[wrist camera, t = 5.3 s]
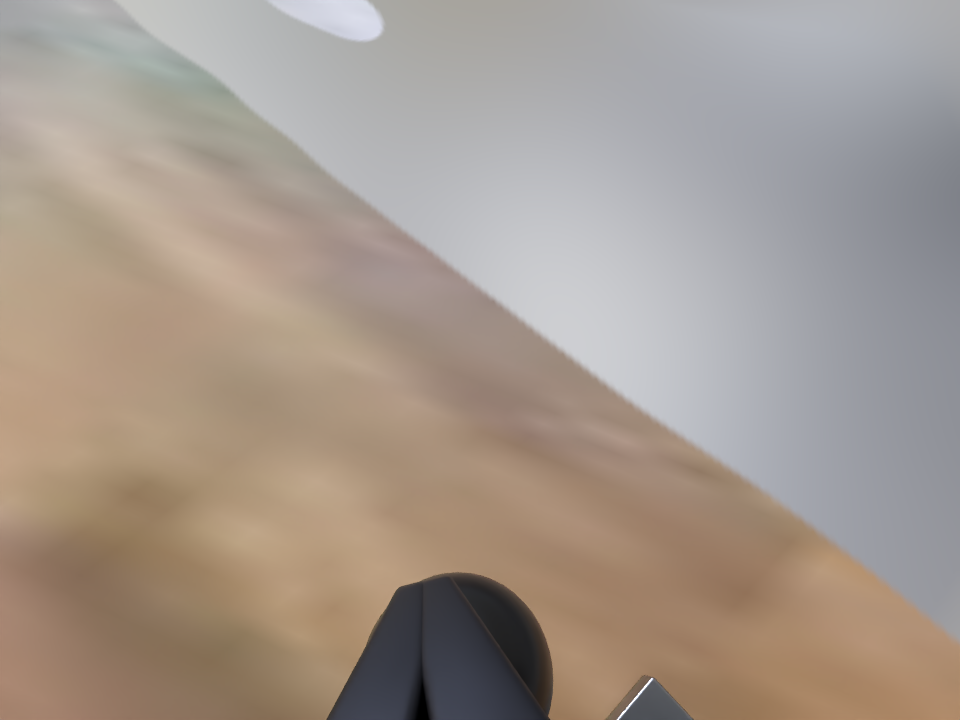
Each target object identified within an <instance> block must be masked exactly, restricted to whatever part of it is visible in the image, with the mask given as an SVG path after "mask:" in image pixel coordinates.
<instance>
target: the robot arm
mask: <svg viewBox="0 0 960 720" xmlns="http://www.w3.org/2000/svg"><path fill="white" fill-rule="evenodd" d="M327 720H550V719H549V717H548V716H547V714H546V713H545V712H544V710H543V709H542V707H541V706H540V704H539V703H538V701H537V700H536V699H535V697H534V696H533V694H532V693H531V691H530V690H529V688H528V687H527V686H526V684H525V683H524V681H523V680H522V678H521V677H520V675H519V674H518V672H517V671H516V670H515V668H514V667H513V665H512V664H511V662H510V661H509V659H508V658H507V657H506V655H505V654H504V652H503V651H502V649H501V648H500V646H499V645H498V644H497V642H496V641H495V639H494V638H493V636H492V635H491V633H490V632H489V631H488V629H487V628H486V626H485V625H484V623H483V622H482V620H481V619H480V617H479V616H478V615H477V613H476V612H475V610H474V609H473V607H472V606H471V604H470V603H469V602H468V600H467V599H466V597H465V596H464V594H463V593H462V591H461V590H460V589H459V587H458V586H457V584H456V583H455V581H454V580H453V578H452V577H450V576H448V575H445V576H441V577H437V578H433V579H429V580H425V581H421V582H417V583H413V584H409V585H405V586H401V587H399V588H398V589H397V590H396V592H395V593H394V595H393V597H392V599H391V601H390V603H389V605H388V606H387V608H386V610H385V612H384V614H383V616H382V618H381V619H380V621H379V623H378V625H377V627H376V629H375V631H374V632H373V634H372V636H371V638H370V640H369V642H368V644H367V645H366V647H365V649H364V651H363V653H362V655H361V657H360V658H359V660H358V662H357V664H356V666H355V668H354V670H353V671H352V673H351V675H350V677H349V679H348V681H347V683H346V684H345V686H344V688H343V690H342V692H341V694H340V696H339V697H338V699H337V701H336V703H335V705H334V707H333V709H332V710H331V712H330V714H329V716H328V718H327Z"/></svg>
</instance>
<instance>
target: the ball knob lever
mask: <svg viewBox="0 0 960 720" xmlns="http://www.w3.org/2000/svg"><path fill="white" fill-rule="evenodd" d="M445 575H448V576H450V577H452V578H453V580H454V581H455V583H456V584H457V586H458V587H459V589H460V590H461V591H462V593H463V594H464V596H465V597H466V599H467V600H468V602H469V603H470V604H471V606H472V607H473V609H474V610H475V612H476V613H477V615H478V616H479V617H480V619H481V620H482V622H483V623H484V625H485V626H486V628H487V629H488V631H489V632H490V633H491V635H492V636H493V638H494V639H495V641H496V642H497V644H498V645H499V646H500V648H501V649H502V651H503V652H504V654H505V655H506V657H507V658H508V659H509V661H510V662H511V664H512V665H513V667H514V668H515V670H516V671H517V672H518V674H519V675H520V677H521V678H522V680H523V681H524V683H525V684H526V686H527V687H528V688H529V690H530V691H531V693H532V694H533V696H534V697H535V699H536V700H537V701H538V703H539V704H540V706H541V707H542V709H543V710H544V712H545V713H546V714H547V716H548V714H549V710H550V706H551V700H552V694H553V668H552V661H551V656H550V651H549V648H548V644H547V641H546V638H545V636H544V633H543V631H542V629H541V627H540V625H539V623H538V621H537V619H536V618H535V616H534V614H533V613H532V612H531V610H530V609H529V608H528V607H527V605H526V604H525V603H524V602H523V601H522V600H521V599H520V598H519V597H518V596H517V595H516V594H515V593H514V592H512V591H511V590H509V589H508V588H507V587H505V586H504V585H502V584H500V583H498V582H496V581H494V580H492V579H489V578H487V577H484V576H481V575H477V574H472V573H459V572H458V573H445V574H440V575H436V576H432V577H430V578H427V579H424V580H422V581H425V580H429V579H433V578H437V577H441V576H445ZM420 582H421V581H420ZM384 612H385V611H384ZM384 612H383V614H384ZM383 614H382V615H381V616H380V618H379V619H378V621H377V623H376V624H375V626H374V628H373V630H372V632H371V634H370V637H369V639H368V642H369V640H370V638H371V636H372V634H373V632H374V631H375V629H376V627H377V625H378V623H379V621H380V619H381V618H382V616H383ZM368 642H367V644H368Z"/></svg>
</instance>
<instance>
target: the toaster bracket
mask: <svg viewBox="0 0 960 720" xmlns="http://www.w3.org/2000/svg"><path fill="white" fill-rule="evenodd" d="M606 720H693V718H692V717H691V716H690V715H689V714H688V713H687V712H686V711H685V710H684V709H683V708H682V707H681V706H680V705H679V704H678V702H677V701H676V700H675V699H674V698H673V697H672V696H671V695H670V694H669V693H668V692H667V691H666V690H665V689H664V688H663V687H662V685H661V684H660V683H659V682H658V681H657V680H656V679H655V678H653V677H650V676H646V675H644V676H642V677H641V678H640V680H639V681H638V682H637V683H636V684H635V686H634V687H633V688H632V689H631V690H630V691H629V693H628V694H627V695H626V696H625V697H624V698H623V700H622V701H621V702H620V703H619V704H618V706H617V707H616V708H615V709H614V710H613V711H612V713H611V714H610V715H609V716H608V717H607V718H606Z"/></svg>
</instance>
